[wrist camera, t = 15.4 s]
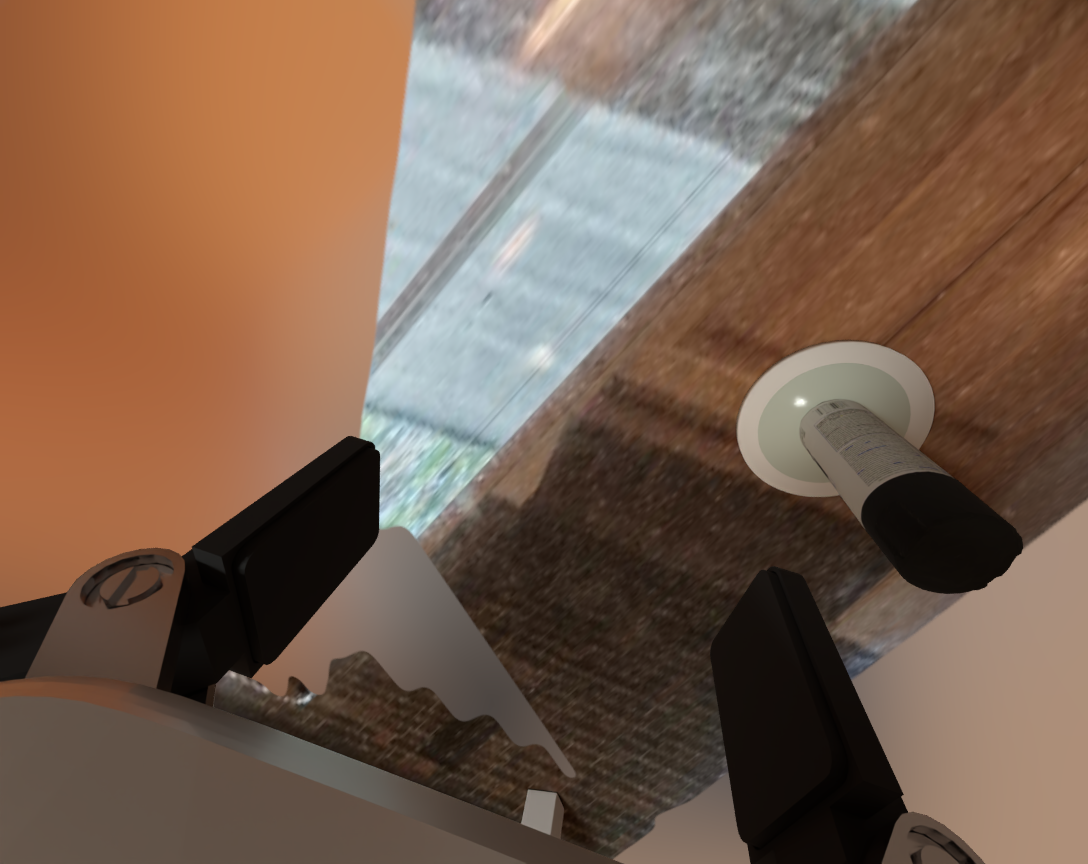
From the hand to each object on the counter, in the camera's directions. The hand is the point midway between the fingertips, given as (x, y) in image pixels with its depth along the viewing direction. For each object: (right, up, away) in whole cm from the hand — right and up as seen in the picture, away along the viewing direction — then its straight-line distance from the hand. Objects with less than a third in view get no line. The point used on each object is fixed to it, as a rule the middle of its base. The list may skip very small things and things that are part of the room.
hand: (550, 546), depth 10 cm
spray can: (+30, +4, +33) cm, 45 cm away
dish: (+31, +4, +35) cm, 46 cm away
